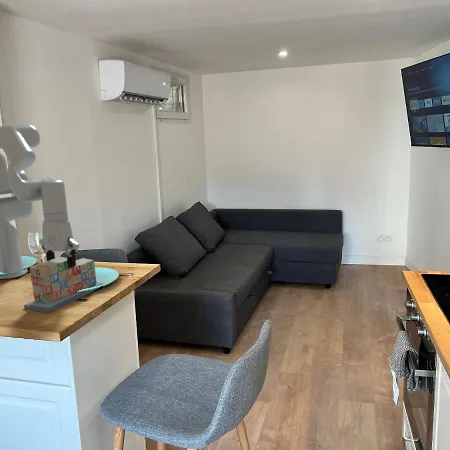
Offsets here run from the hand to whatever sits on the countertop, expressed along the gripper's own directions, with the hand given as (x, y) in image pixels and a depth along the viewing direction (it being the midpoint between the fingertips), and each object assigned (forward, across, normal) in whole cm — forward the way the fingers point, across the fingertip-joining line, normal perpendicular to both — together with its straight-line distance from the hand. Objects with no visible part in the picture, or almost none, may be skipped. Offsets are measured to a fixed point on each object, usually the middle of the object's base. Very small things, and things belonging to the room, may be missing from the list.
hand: (61, 265), depth 156 cm
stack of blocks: (+10, 0, +1) cm, 10 cm away
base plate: (+11, +1, 0) cm, 11 cm away
